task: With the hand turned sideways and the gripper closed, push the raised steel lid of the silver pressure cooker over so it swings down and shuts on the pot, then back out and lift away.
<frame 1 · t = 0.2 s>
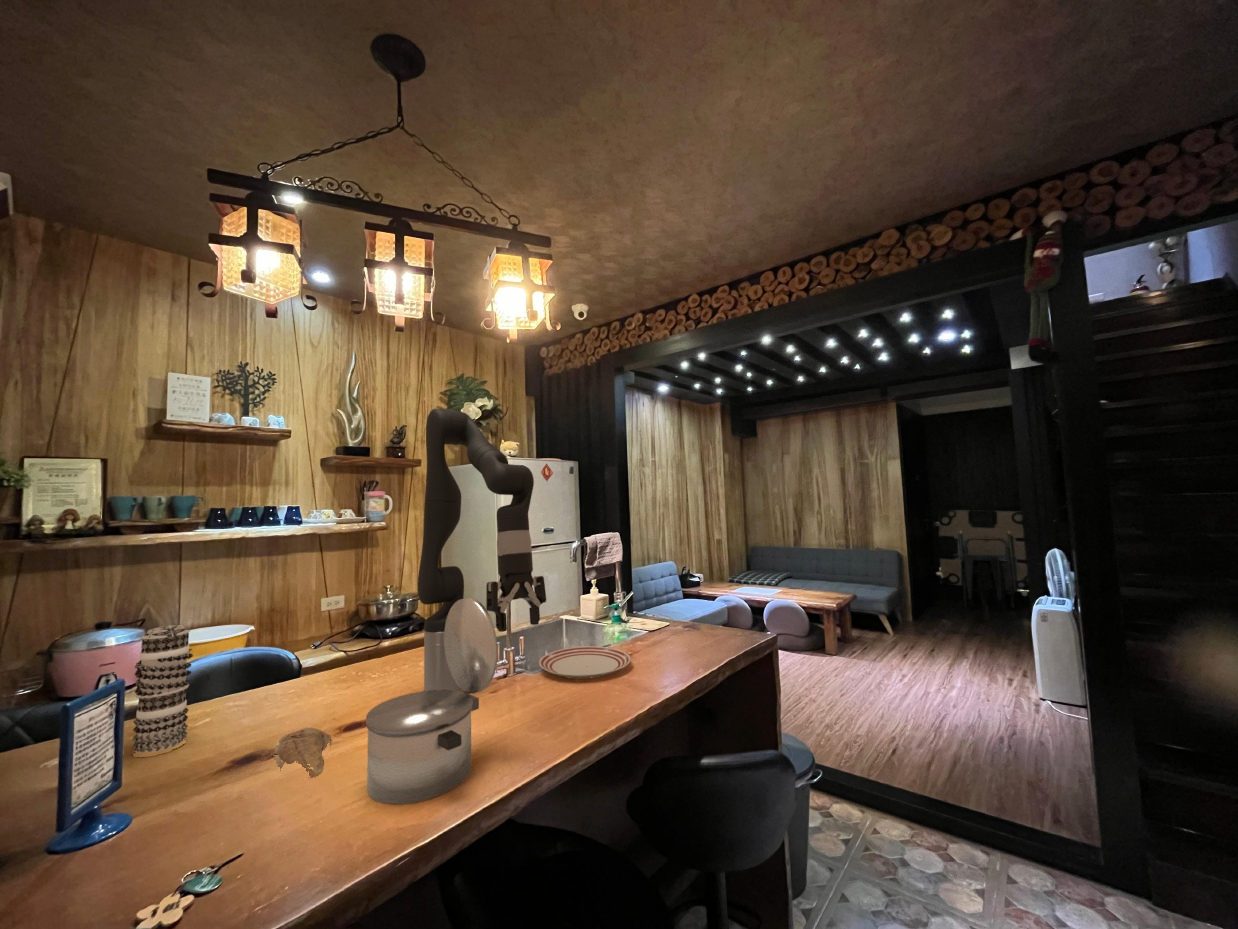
hand: (518, 627, 108), 22 cm above the counter, tool pointing down, fingers open, 8 cm apart
cooker pot: (421, 776, 90), on the counter
fish fossil: (300, 758, 100), on the counter
cooker lid: (478, 642, 101), point 21 cm above the counter, hinge at 90.0°
dinner plate: (585, 670, 150), on the counter
decorative candle: (160, 749, 106), on the counter
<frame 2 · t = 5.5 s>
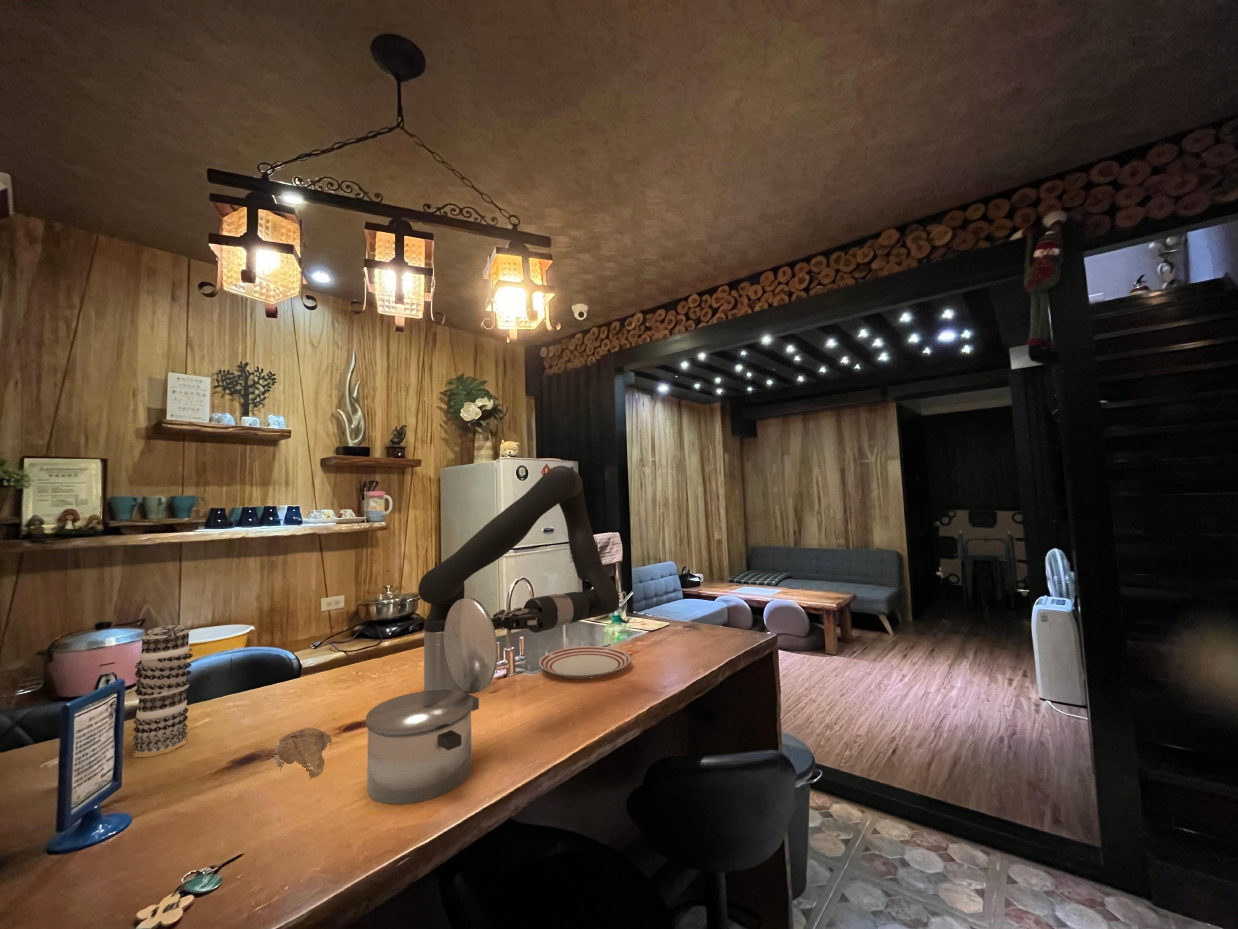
hand: (482, 626, 102), 24 cm above the counter, tool horizontal, fingers closed
cooker lid: (478, 642, 101), point 21 cm above the counter, hinge at 89.8°, touching gripper
everything else where it was.
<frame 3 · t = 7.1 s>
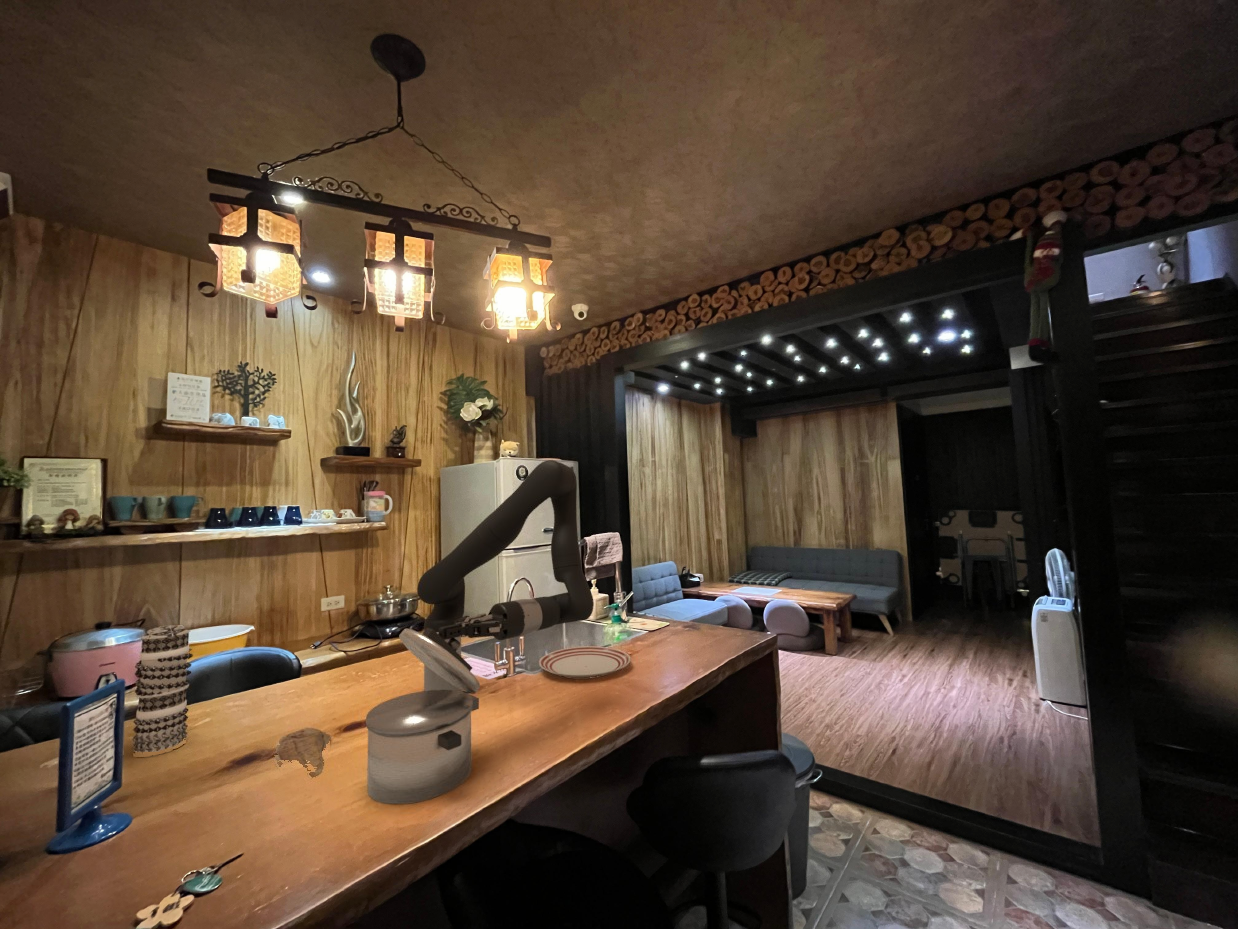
hand: (440, 633, 95), 24 cm above the counter, tool horizontal, fingers closed
cooker lid: (446, 652, 96), point 21 cm above the counter, hinge at 47.6°, touching gripper
everything else where it was.
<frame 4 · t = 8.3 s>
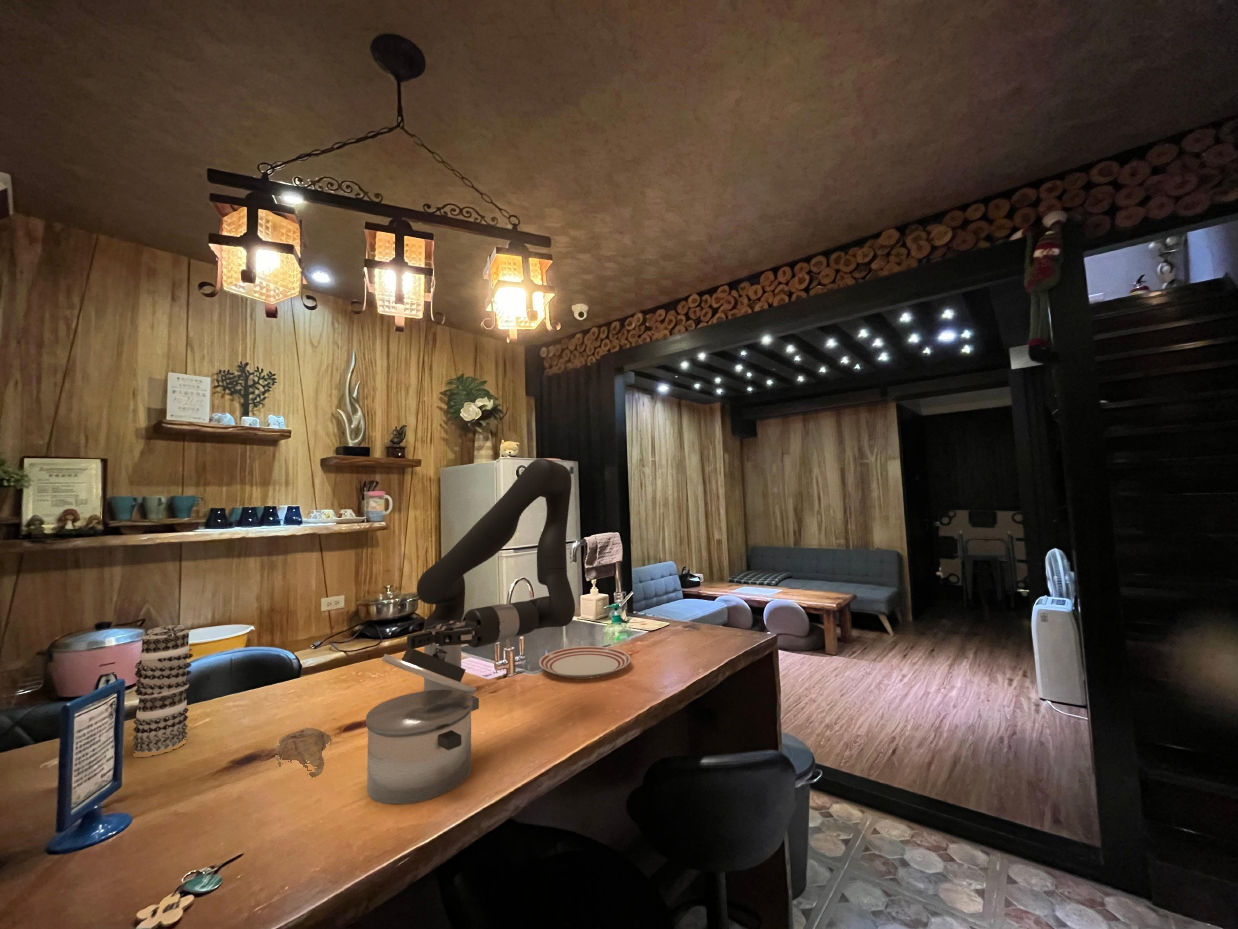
hand: (408, 642, 91), 24 cm above the counter, tool horizontal, fingers closed
cooker lid: (435, 663, 94), point 19 cm above the counter, hinge at 30.7°
everything else where it was.
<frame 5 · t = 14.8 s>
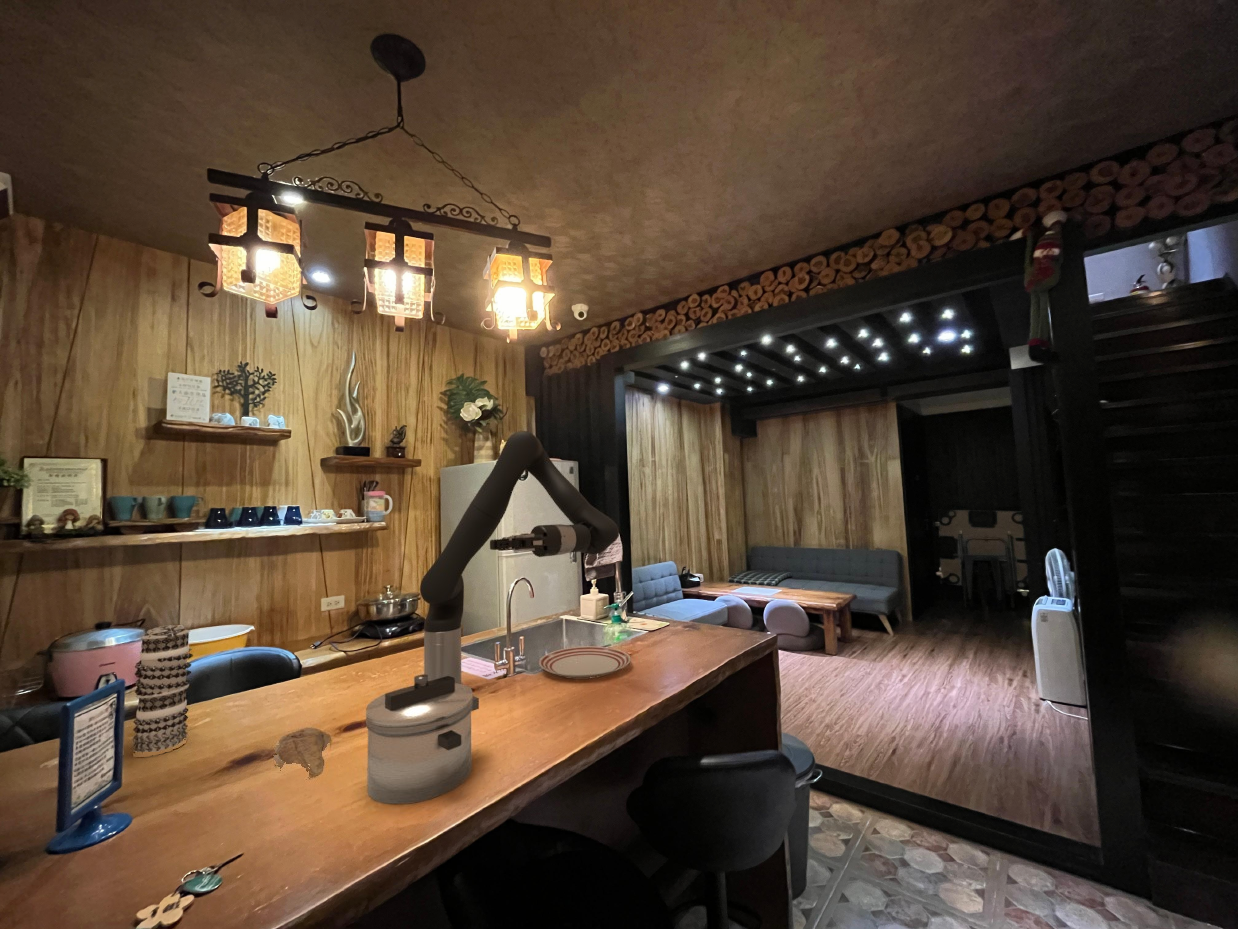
hand: (491, 544, 110), 40 cm above the counter, tool horizontal, fingers closed
cooker lid: (421, 691, 92), point 15 cm above the counter, hinge at -0.1°
everything else where it was.
at the end: cooker lid at +0° (first picture: +90°) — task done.
